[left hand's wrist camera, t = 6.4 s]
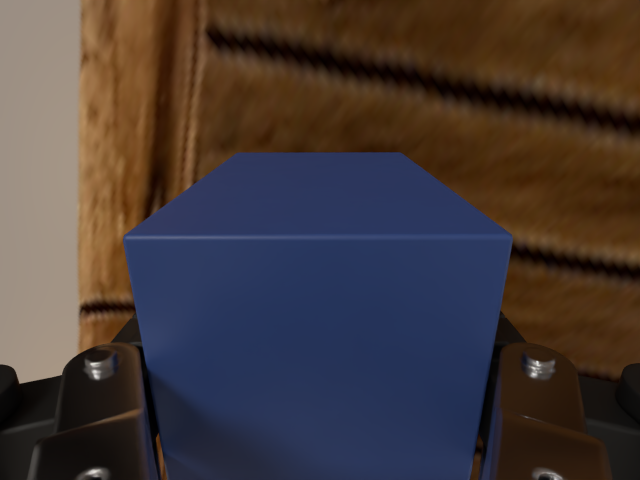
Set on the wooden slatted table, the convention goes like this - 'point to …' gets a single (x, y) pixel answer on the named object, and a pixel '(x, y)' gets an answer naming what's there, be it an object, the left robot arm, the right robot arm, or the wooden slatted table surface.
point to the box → (318, 320)
